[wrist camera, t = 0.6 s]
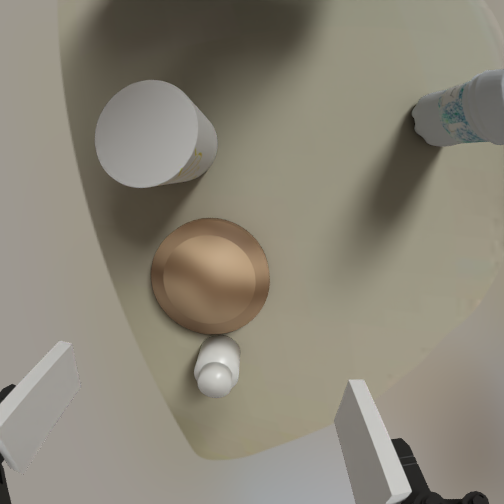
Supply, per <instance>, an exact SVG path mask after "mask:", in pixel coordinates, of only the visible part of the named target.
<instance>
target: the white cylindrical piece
mask: <svg viewBox="0 0 504 504" xmlns="http://www.w3.org/2000/svg"><path fill="white" fill-rule="evenodd" d="M95 148H96V153H97V156H98V159H99V161H100V163H101V165H102V167H103V168H104V170H105V171H106V172H107V173H108V174H109V175H110V176H111V177H112V178H113V179H115V180H116V181H118V182H119V183H121V184H124V185H126V186H130V187H135V188H147V187H153V186H159V185H166V184H173V183H179V182H186V181H190V180H193V179H195V178H197V177H199V176H201V175H202V174H203V173H204V172H206V171H207V169H208V168H209V167H210V166H211V164H212V163H213V161H214V159H215V156H216V153H217V148H218V140H217V134H216V131H215V129H214V127H213V125H212V124H211V122H210V121H209V120H208V119H207V118H206V116H205V115H204V114H203V113H202V112H201V111H200V110H199V109H198V107H197V106H196V105H195V104H194V103H193V102H192V101H191V100H190V99H189V97H188V96H187V95H186V94H185V93H184V92H183V91H182V90H180V89H179V88H178V87H176V86H174V85H172V84H170V83H168V82H164V81H160V80H144V81H139V82H136V83H133V84H130V85H128V86H126V87H125V88H123V89H122V90H120V91H119V92H118V93H116V94H115V95H114V96H113V97H112V98H111V99H110V100H109V102H108V103H107V104H106V106H105V107H104V109H103V110H102V112H101V114H100V117H99V119H98V122H97V125H96V131H95Z"/></svg>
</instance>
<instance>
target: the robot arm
mask: <svg viewBox="0 0 504 504" xmlns="http://www.w3.org/2000/svg"><path fill="white" fill-rule="evenodd" d="M80 388H81V383H80V379H79V374H78V370H77V365H76V360H75V355H74V350H73V345H72V343H68V342H64V341H59V342H58V343H57V344H56V345H55V346H54V347H53V348H52V349H51V350H50V351H49V352H48V353H47V354H46V355H45V356H44V357H43V358H42V359H41V360H40V361H39V362H38V363H37V364H36V366H34V368H33V369H32V370H31V371H30V372H29V373H28V374H27V375H26V376H25V377H24V378H23V380H21V381H20V383H19V384H18V385H17V386H16V385H13V384H11V385H9V386H7V387H6V388H4V389H3V390H2V391H1V392H0V504H11V500H10V496H9V492H8V488H7V483H6V478H5V473H4V468H3V466H2V464H1V463H2V462H3V461H4V460H5V461H6V463H7V464H8V466H9V467H10V468H12V469H13V470H15V471H17V472H19V473H21V474H24V473H25V471H26V469H27V468H28V466H29V465H30V463H31V461H32V460H33V458H34V457H35V455H36V453H37V452H38V450H39V449H40V447H41V446H42V444H43V442H44V441H45V439H46V438H47V436H48V435H49V433H50V432H51V430H52V429H53V427H54V426H55V424H56V423H57V421H58V420H59V418H60V417H61V415H62V414H63V412H64V411H65V409H66V408H67V407H68V405H69V403H70V402H71V401H72V399H73V398H74V396H75V395H76V394H77V392H78V391H79V389H80ZM334 423H335V426H336V430H337V434H338V437H339V441H340V445H341V449H342V452H343V456H344V460H345V464H346V467H347V471H348V475H349V479H350V483H351V487H352V491H353V495H354V499H355V503H356V504H489V502H488V499H487V497H486V496H485V495H484V494H482V493H481V492H477V491H474V492H470V493H468V494H466V495H465V497H464V498H463V499H443V498H442V497H441V496H440V495H439V494H437V493H435V492H431V491H430V489H429V488H428V485H427V483H426V481H425V479H424V477H423V474H422V472H421V470H420V468H419V466H418V464H417V461H416V459H415V457H413V453H412V450H411V448H410V446H409V445H408V444H407V443H406V442H405V441H404V440H403V439H402V438H398V439H390V437H389V435H388V432H387V430H386V428H385V426H384V423H383V421H382V419H381V417H380V414H379V412H378V410H377V408H376V405H375V403H374V401H373V399H372V396H371V394H370V392H369V390H368V388H367V386H366V383H365V381H364V380H348V383H347V386H346V389H345V392H344V395H343V398H342V400H341V403H340V406H339V409H338V411H337V414H336V417H335V419H334Z"/></svg>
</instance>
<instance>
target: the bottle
mask: <svg viewBox="0 0 504 504" xmlns="http://www.w3.org/2000/svg"><path fill="white" fill-rule="evenodd" d="M412 117H414V120H415V127H414V129H415V131H416V133H417V134H419V135H420V136H422V137H423V138H424V139H425V141H426V143H428V144H430V145H433V146H452V145H456V144H461V143H473V142H491V143H493V144H497V145H504V69H499V70H487V71H484V72H483V73H482V74H478V75H476V76H474V77H473V78H472V80H471V81H469V82H466V83H463V84H460V85H457V86H455V87H452V88H449V89H447V90H443V91H438V92H434V93H430V94H428V95H425V96H423V97H422V98H420V99H419V101H418V103H417V105H416V106H415V107H414V109H413V111H412Z"/></svg>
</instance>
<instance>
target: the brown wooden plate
mask: <svg viewBox="0 0 504 504" xmlns="http://www.w3.org/2000/svg"><path fill="white" fill-rule="evenodd" d="M151 281H152V287H153V290H154V294H155V296H156V298H157V301H158V302H159V304H160V306H161V307H162V309H163V310H164V311H165V312H166V314H167V315H168V316H169V317H170V318H171V319H173V320H174V321H175V322H177V323H178V324H180V325H181V326H183V327H185V328H187V329H189V330H192V331H195V332H198V333H203V334H223V333H228V332H232V331H234V330H237V329H239V328H241V327H243V326H245V325H246V324H248V323H249V322H250V321H251V320H253V319H254V318H255V317H256V315H257V314H258V313H259V312H260V310H261V309H262V307H263V305H264V303H265V301H266V299H267V296H268V292H269V284H270V276H269V268H268V263H267V259H266V256H265V253H264V251H263V249H262V247H261V246H260V244H259V243H258V242H257V240H256V239H255V238H254V237H253V236H252V235H251V234H250V233H249V232H248V231H247V230H245V229H244V228H242V227H241V226H239V225H237V224H235V223H233V222H230V221H227V220H223V219H218V218H202V219H197V220H193V221H191V222H188V223H186V224H184V225H182V226H180V227H179V228H177V229H176V230H175V231H173V232H172V233H171V234H169V235H168V236H167V237H166V238H165V239H164V241H163V242H162V243H161V244H160V246H159V248H158V249H157V251H156V254H155V256H154V259H153V263H152V269H151Z"/></svg>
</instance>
